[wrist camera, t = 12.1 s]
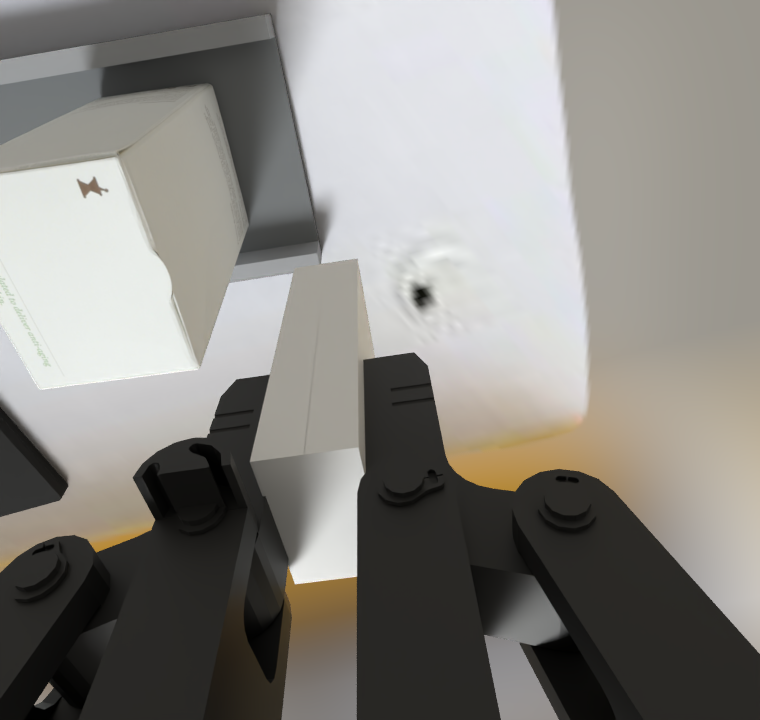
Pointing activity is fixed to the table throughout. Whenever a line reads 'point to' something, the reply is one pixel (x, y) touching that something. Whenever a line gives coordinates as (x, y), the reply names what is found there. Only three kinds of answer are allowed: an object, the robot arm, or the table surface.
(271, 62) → the rubber tray
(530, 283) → the table surface
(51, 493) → the cassette tape
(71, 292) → the skincare box
